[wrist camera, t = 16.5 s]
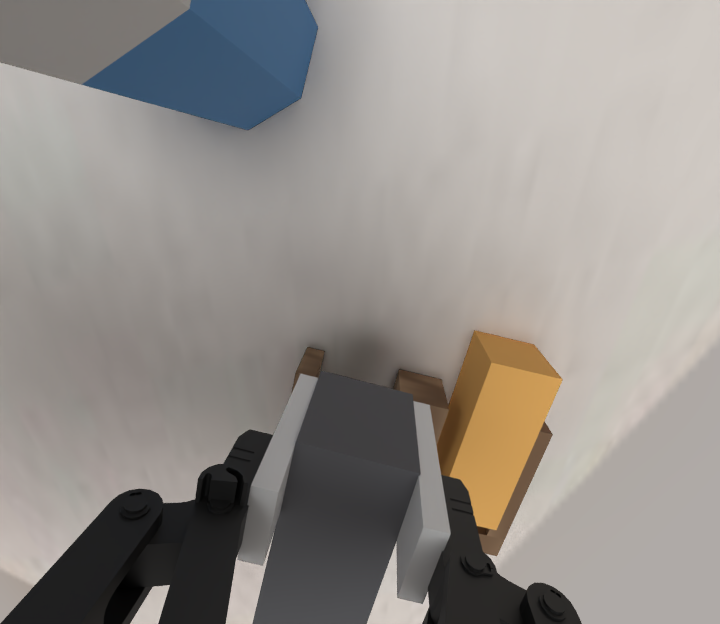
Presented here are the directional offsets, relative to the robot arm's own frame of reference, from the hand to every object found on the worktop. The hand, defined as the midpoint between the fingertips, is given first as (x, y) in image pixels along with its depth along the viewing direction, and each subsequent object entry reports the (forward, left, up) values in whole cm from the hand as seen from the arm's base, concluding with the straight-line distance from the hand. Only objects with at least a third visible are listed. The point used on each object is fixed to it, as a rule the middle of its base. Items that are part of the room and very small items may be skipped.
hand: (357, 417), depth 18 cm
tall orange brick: (+9, -4, -11) cm, 15 cm away
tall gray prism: (0, -4, -1) cm, 4 cm away
